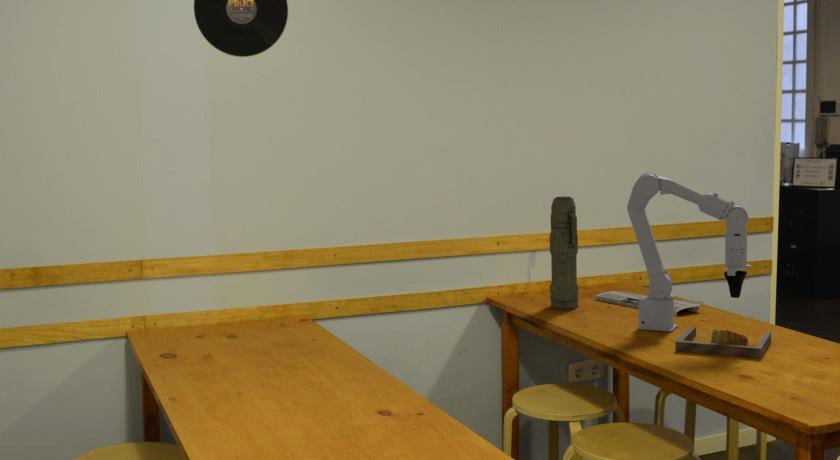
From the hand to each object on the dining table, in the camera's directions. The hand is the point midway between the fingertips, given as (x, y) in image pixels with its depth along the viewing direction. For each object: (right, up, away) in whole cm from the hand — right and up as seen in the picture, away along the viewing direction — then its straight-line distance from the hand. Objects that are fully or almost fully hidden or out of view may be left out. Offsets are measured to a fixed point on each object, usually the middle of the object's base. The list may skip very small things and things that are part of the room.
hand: (735, 297), depth 269 cm
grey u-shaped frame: (-8, -12, -15) cm, 21 cm away
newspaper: (-15, -6, +38) cm, 41 cm away
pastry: (-7, -12, -13) cm, 19 cm away
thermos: (-42, -6, +39) cm, 57 cm away
